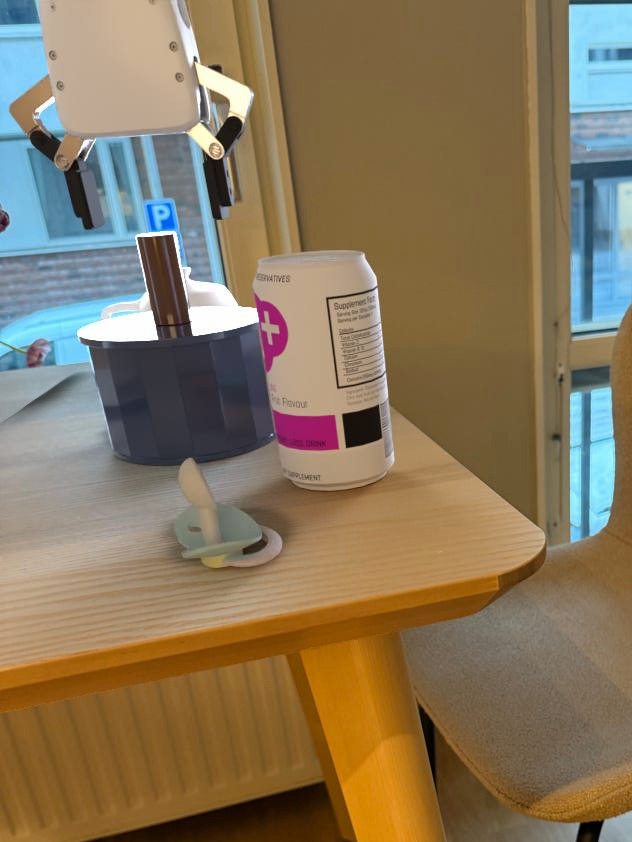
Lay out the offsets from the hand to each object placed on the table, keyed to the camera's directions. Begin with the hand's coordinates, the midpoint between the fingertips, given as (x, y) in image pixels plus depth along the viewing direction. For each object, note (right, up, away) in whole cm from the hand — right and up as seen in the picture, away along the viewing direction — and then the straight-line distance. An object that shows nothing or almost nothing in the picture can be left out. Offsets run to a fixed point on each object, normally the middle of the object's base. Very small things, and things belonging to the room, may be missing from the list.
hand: (158, 223), depth 71 cm
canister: (+1, -15, +8) cm, 17 cm away
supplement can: (+14, -20, -2) cm, 24 cm away
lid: (0, -7, +4) cm, 8 cm away
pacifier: (+10, -27, -15) cm, 32 cm away
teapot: (-8, +1, +37) cm, 38 cm away
